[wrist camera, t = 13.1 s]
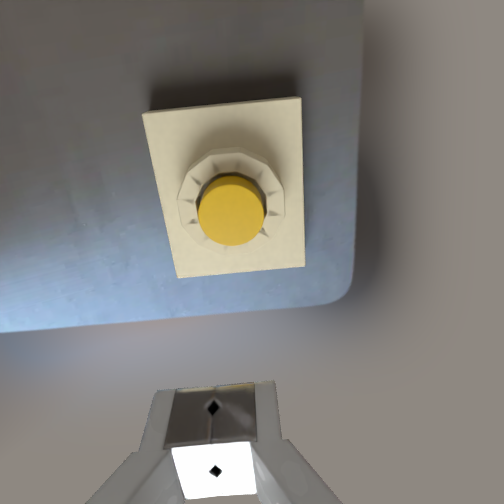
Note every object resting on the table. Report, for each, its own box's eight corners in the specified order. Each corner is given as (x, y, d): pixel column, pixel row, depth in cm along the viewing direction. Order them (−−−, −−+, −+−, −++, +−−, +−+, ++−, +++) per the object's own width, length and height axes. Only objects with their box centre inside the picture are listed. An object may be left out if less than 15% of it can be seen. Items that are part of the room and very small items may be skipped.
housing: (148, 110, 23) (132, 116, 20) (296, 96, 23) (307, 99, 20) (180, 266, 29) (172, 292, 25) (301, 254, 29) (310, 279, 25)
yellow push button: (196, 178, 22) (192, 187, 20) (259, 172, 22) (261, 180, 20) (205, 236, 24) (203, 249, 22) (264, 230, 24) (266, 243, 22)
